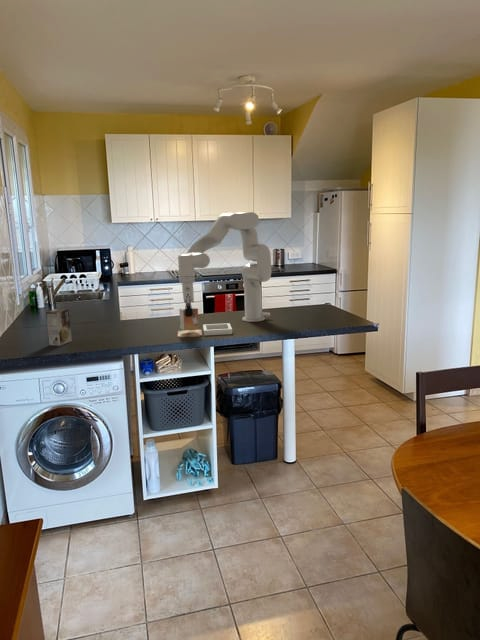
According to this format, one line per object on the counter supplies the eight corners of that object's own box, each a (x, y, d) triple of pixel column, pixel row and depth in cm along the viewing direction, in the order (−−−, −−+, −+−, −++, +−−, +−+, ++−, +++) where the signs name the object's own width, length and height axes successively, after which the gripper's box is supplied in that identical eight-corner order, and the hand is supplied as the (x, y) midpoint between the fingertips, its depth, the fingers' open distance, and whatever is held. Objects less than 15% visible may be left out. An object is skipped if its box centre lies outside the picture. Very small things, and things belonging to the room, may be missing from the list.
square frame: (229, 327, 255) (229, 323, 254) (232, 333, 241) (232, 329, 240) (203, 329, 253) (202, 324, 253) (204, 335, 240) (203, 330, 239)
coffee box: (61, 340, 239) (57, 308, 235) (72, 341, 237) (69, 308, 233) (49, 345, 230) (45, 311, 227) (60, 345, 228) (56, 312, 225)
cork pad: (201, 330, 250) (201, 329, 250) (202, 336, 238) (202, 334, 238) (178, 331, 249) (177, 330, 249) (177, 337, 237) (177, 336, 237)
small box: (184, 331, 239) (182, 310, 237) (180, 328, 244) (178, 308, 242) (199, 328, 243) (198, 308, 240) (194, 326, 247) (193, 306, 245)
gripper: (195, 281, 230) (196, 317, 234) (194, 277, 247) (196, 311, 251) (179, 282, 229) (181, 318, 233) (179, 277, 246) (181, 312, 250)
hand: (188, 314), depth 242 cm, fingers closed on small box, 7 cm apart
